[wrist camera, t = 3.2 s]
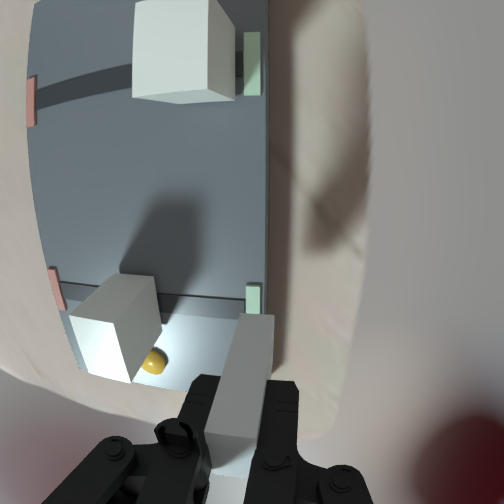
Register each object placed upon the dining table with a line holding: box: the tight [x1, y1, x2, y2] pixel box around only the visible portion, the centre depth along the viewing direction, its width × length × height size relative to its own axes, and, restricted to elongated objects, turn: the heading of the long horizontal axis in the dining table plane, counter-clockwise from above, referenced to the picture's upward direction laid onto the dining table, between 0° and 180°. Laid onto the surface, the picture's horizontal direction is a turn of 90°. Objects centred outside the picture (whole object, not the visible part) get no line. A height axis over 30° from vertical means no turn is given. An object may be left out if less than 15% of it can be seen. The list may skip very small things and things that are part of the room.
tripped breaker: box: [69, 273, 163, 383], centre depth 15 cm, size 4×2×4 cm
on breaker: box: [132, 0, 235, 104], centre depth 10 cm, size 4×2×4 cm
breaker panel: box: [26, 0, 269, 392], centre depth 16 cm, size 26×14×2 cm, turn 1°
